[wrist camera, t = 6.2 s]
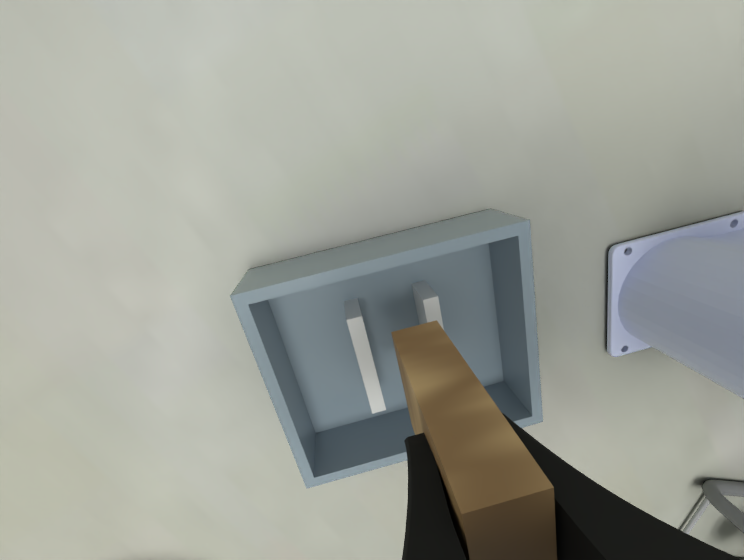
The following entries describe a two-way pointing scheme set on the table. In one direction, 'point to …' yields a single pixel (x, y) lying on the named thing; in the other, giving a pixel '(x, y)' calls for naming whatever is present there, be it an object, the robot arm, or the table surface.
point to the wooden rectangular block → (475, 453)
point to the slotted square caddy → (374, 339)
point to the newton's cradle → (720, 502)
